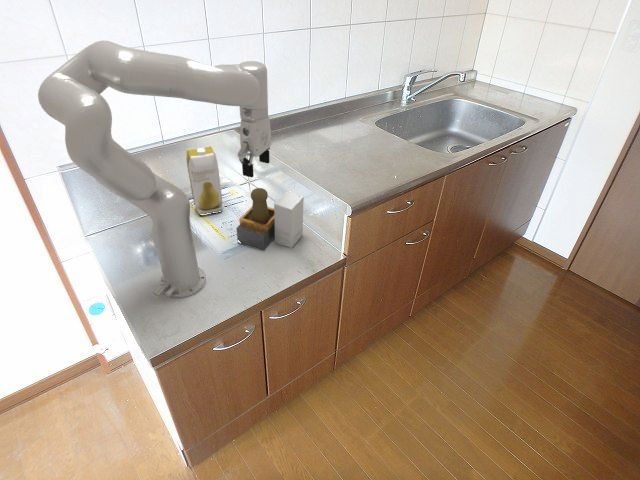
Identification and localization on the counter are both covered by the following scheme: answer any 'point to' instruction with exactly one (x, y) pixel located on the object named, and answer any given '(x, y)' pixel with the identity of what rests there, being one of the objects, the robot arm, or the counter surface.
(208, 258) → the counter surface
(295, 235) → the skincare box
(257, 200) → the olive rounded tall piece
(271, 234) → the grey open box
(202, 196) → the juice carton
